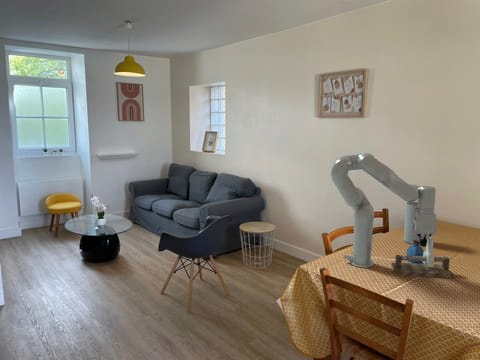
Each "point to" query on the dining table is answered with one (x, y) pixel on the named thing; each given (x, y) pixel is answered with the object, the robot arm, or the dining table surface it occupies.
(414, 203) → the cylinder vase
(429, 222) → the robot arm
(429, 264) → the white l-shaped bracket
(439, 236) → the dining table surface
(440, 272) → the pipe stand
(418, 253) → the perfume bottle
